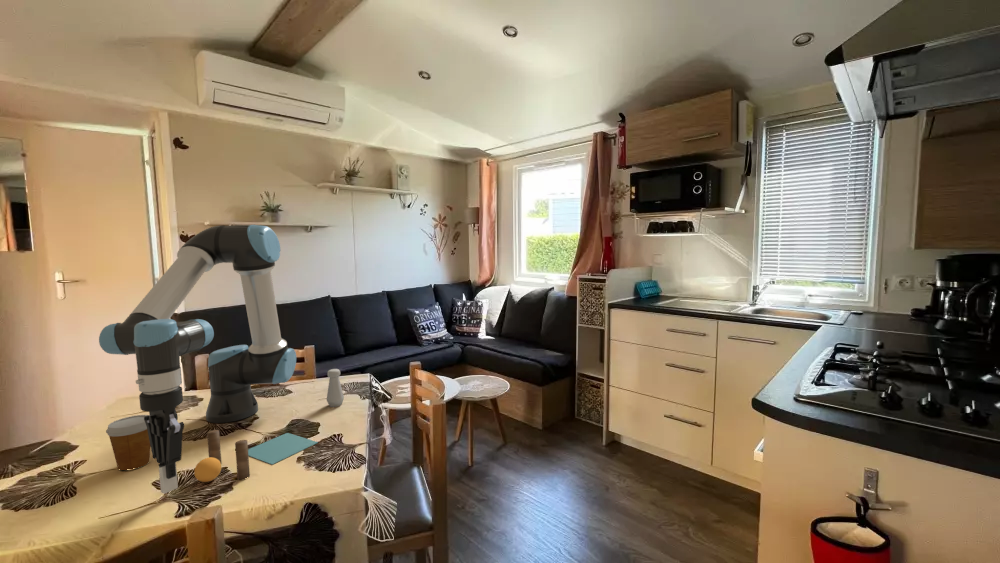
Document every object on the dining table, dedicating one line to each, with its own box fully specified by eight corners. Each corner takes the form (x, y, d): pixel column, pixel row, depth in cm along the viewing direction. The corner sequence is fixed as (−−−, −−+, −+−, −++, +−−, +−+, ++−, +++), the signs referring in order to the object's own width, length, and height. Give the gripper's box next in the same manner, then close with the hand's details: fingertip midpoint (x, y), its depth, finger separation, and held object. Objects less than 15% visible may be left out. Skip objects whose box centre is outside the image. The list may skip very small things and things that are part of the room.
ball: (216, 455, 108) (209, 478, 107) (194, 455, 104) (185, 479, 102) (229, 459, 106) (221, 483, 104) (206, 460, 101) (198, 485, 100)
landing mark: (241, 453, 118) (241, 452, 118) (287, 433, 130) (287, 432, 130) (272, 464, 111) (272, 464, 111) (318, 442, 123) (318, 442, 123)
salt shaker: (346, 402, 156) (345, 367, 155) (339, 408, 150) (337, 372, 149) (331, 402, 156) (329, 367, 155) (323, 407, 151) (321, 372, 150)
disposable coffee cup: (129, 457, 117) (125, 415, 116) (165, 455, 118) (162, 413, 117) (99, 475, 107) (94, 429, 106) (139, 473, 108) (135, 428, 107)
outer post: (235, 478, 105) (232, 443, 104) (245, 473, 107) (243, 438, 107) (241, 481, 104) (238, 445, 103) (252, 475, 106) (249, 441, 105)
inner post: (207, 466, 111) (205, 433, 110) (218, 461, 113) (215, 429, 113) (213, 468, 110) (210, 435, 109) (223, 464, 112) (221, 431, 111)
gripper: (126, 389, 95) (136, 490, 97) (155, 399, 89) (164, 506, 91) (166, 380, 102) (174, 475, 103) (194, 388, 95) (202, 489, 97)
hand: (169, 489), depth 97 cm, fingers closed
